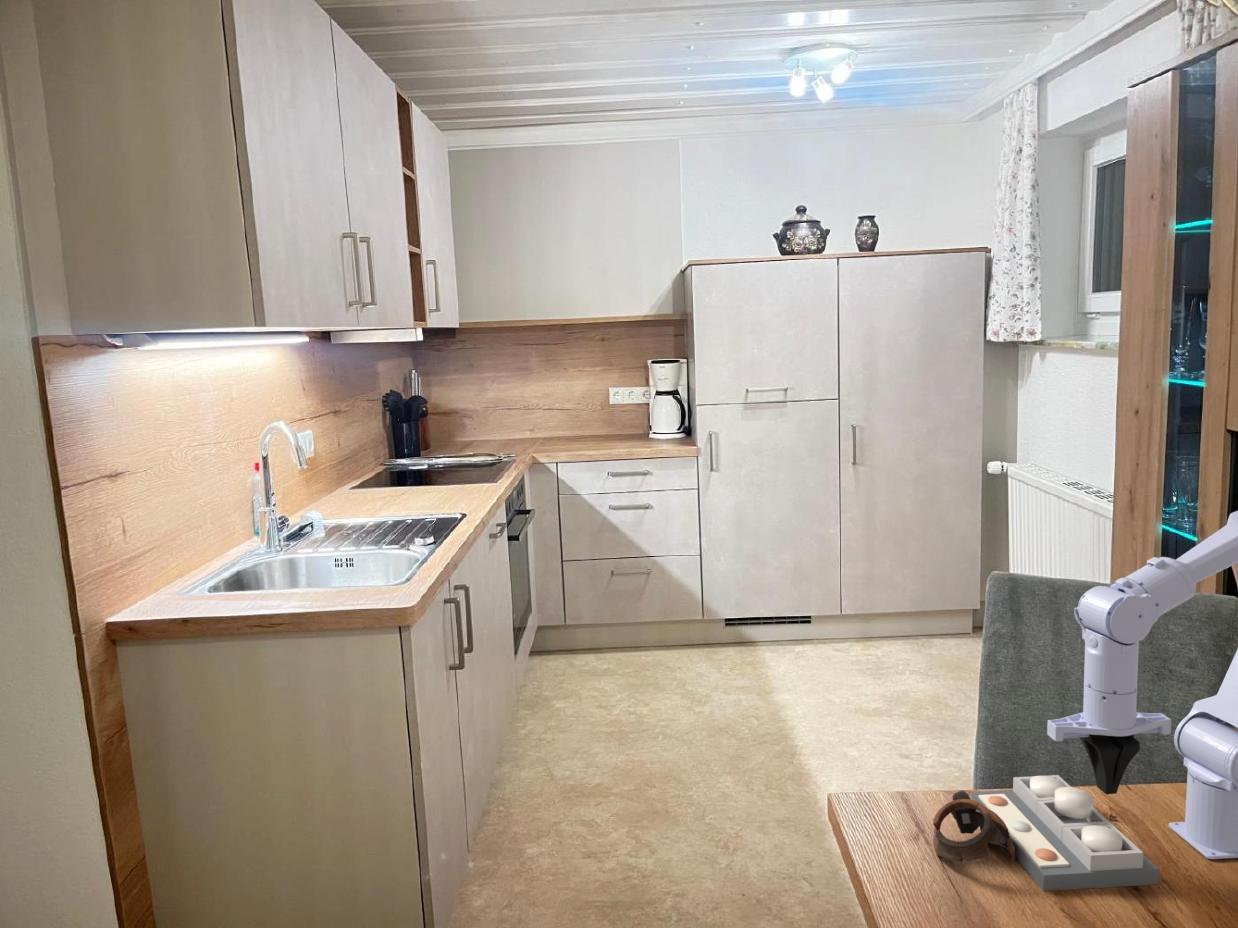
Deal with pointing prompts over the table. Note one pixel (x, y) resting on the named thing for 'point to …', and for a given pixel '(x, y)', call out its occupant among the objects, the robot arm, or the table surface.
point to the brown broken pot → (970, 830)
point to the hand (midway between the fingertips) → (1106, 789)
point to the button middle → (1073, 802)
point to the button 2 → (1101, 839)
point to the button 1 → (1045, 786)
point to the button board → (1063, 843)
